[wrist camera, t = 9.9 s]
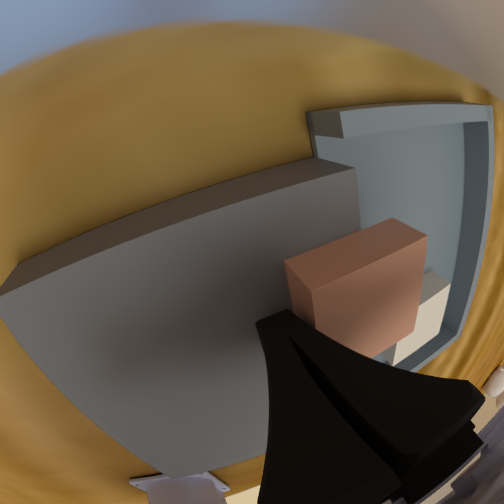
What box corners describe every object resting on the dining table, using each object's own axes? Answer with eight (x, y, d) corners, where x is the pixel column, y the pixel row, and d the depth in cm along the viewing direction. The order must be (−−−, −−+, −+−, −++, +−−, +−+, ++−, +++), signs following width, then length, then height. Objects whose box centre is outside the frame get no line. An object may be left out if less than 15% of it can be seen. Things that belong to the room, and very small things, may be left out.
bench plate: (334, 385, 20) (353, 412, 17) (166, 447, 17) (172, 479, 15) (313, 156, 12) (355, 168, 9) (17, 264, 9) (-10, 301, 7)
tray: (443, 322, 23) (460, 336, 20) (334, 392, 20) (349, 414, 18) (463, 101, 13) (492, 105, 11) (305, 112, 11) (339, 111, 9)
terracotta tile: (388, 308, 13) (413, 331, 11) (301, 353, 12) (321, 384, 10) (392, 217, 11) (427, 235, 9) (283, 260, 10) (311, 291, 8)
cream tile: (392, 366, 17) (376, 349, 19) (438, 333, 18) (422, 319, 20) (400, 318, 15) (380, 300, 17) (450, 283, 16) (431, 270, 17)
